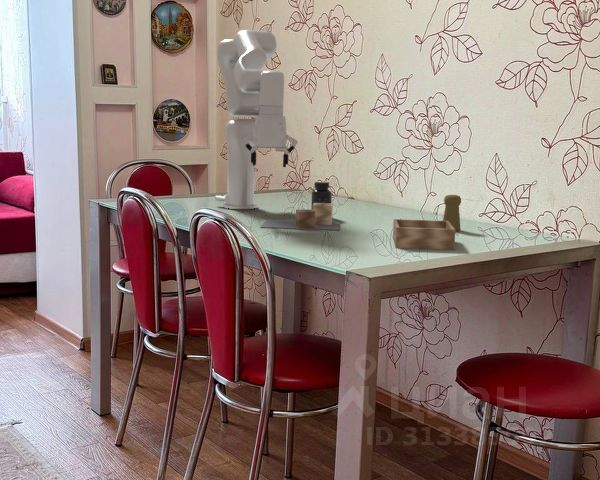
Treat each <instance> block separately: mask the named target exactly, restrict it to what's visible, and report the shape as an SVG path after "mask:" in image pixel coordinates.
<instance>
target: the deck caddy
mask: <svg viewBox="0 0 600 480" xmlns="http://www.w3.org/2000/svg"><path fill="white" fill-rule="evenodd" d="M392 225H393V227H392V239H393V244H394V247H395V249H415V248H416V249H418V250H419V249H420V250H422V249H423V250H444V249H446V251H447V249H448V251H453V250H454V251H455V241H456V232H455V228H454V227H453V226H452V225H451V224H450V222H449V221H443V220H433V219H432V220H430V219H429V220H428V219H403V218H402V219H401V218H400V219H399V218H398V219H397V218H396V219H395V218H393V223H392Z"/></svg>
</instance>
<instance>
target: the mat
mask: <svg viewBox="0 0 600 480" xmlns="http://www.w3.org/2000/svg"><path fill="white" fill-rule="evenodd" d="M340 226H341V221H333V220H332V224H331V225H321V224H315V228H298V227H297V226H296V219H275V218H274V219H272V218H270V219H269V218H267V219H265V220H264V222H263V223H262V224H261V226H260V227H259V228H260V229H284V230H309V231H310V230H312V231H314V230H315V231H316V230H317V231H340V228H341V227H340Z"/></svg>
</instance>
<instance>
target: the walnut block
mask: <svg viewBox="0 0 600 480" xmlns="http://www.w3.org/2000/svg"><path fill="white" fill-rule="evenodd" d="M295 220H296V226H297V227H298V228H315V211H313V210H311V209H295Z"/></svg>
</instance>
